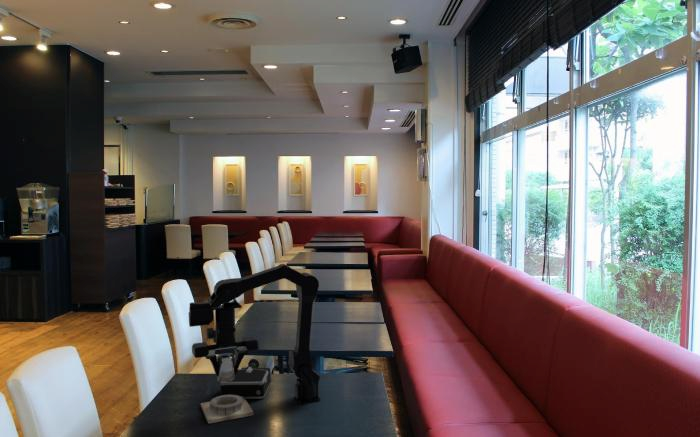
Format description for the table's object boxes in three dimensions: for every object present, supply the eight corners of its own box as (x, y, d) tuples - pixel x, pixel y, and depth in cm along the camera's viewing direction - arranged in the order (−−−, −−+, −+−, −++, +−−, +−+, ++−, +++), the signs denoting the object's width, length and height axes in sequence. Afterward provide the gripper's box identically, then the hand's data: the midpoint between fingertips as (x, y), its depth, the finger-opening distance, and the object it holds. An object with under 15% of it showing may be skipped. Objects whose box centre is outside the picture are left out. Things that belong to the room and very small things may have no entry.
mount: (242, 399, 168) (242, 389, 168) (253, 415, 157) (253, 405, 156) (200, 406, 163) (200, 396, 163) (208, 423, 151) (208, 413, 151)
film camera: (231, 380, 185) (274, 380, 184) (217, 404, 169) (264, 404, 168) (229, 358, 184) (272, 357, 183) (215, 379, 168) (262, 379, 167)
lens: (236, 380, 158) (236, 356, 157) (219, 383, 156) (218, 359, 155) (232, 374, 162) (232, 351, 162) (216, 377, 160) (215, 354, 160)
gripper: (249, 314, 169) (250, 362, 170) (188, 320, 161) (189, 371, 162) (258, 322, 159) (259, 373, 160) (194, 329, 151) (195, 383, 152)
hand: (226, 374), depth 159 cm, fingers closed on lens, 5 cm apart
